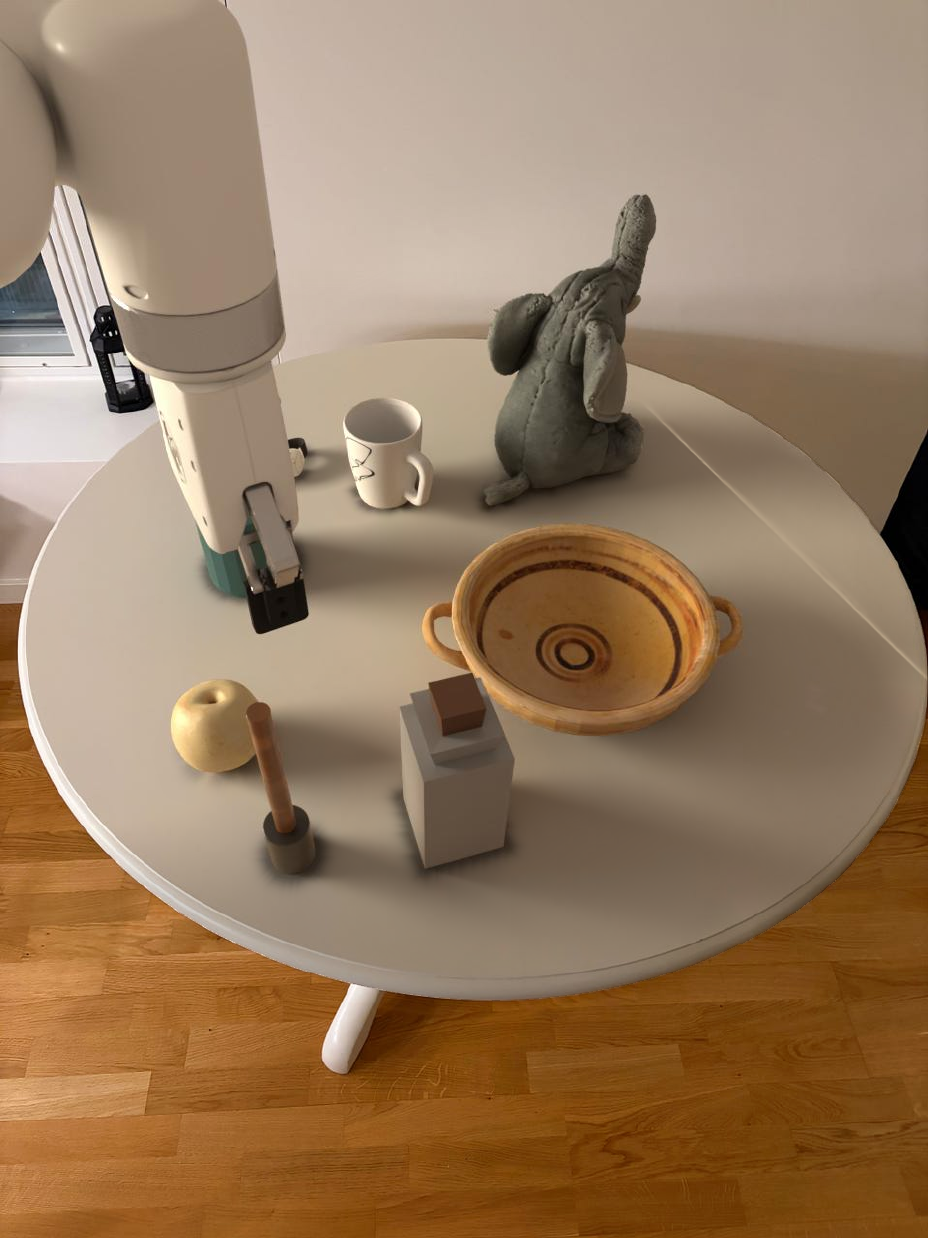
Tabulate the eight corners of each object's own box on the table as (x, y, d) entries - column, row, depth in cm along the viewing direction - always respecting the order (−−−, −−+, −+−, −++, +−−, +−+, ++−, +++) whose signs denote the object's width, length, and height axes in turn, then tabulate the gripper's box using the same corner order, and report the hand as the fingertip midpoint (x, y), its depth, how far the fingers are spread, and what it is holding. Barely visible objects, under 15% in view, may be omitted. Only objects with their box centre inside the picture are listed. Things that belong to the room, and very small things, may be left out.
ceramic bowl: (696, 574, 96) (713, 518, 90) (758, 769, 80) (785, 717, 74) (419, 580, 94) (418, 524, 88) (426, 781, 78) (426, 729, 72)
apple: (203, 805, 76) (150, 739, 72) (202, 755, 83) (154, 693, 79) (285, 758, 76) (237, 691, 73) (277, 713, 83) (232, 649, 80)
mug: (456, 504, 102) (458, 432, 95) (403, 540, 98) (401, 468, 91) (387, 458, 108) (384, 387, 100) (334, 491, 103) (326, 419, 96)
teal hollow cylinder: (223, 609, 91) (205, 537, 83) (199, 552, 96) (180, 480, 89) (308, 582, 94) (297, 510, 86) (280, 528, 99) (268, 456, 92)
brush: (279, 882, 72) (239, 742, 57) (265, 844, 74) (223, 700, 59) (321, 864, 73) (293, 722, 58) (306, 828, 75) (275, 682, 60)
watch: (279, 495, 103) (275, 470, 100) (246, 481, 104) (241, 456, 101) (318, 458, 107) (315, 433, 104) (286, 445, 109) (283, 421, 106)
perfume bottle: (403, 799, 77) (397, 669, 64) (478, 779, 79) (487, 648, 65) (424, 869, 73) (423, 746, 59) (503, 847, 74) (519, 722, 61)
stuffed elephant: (617, 399, 117) (656, 186, 97) (650, 506, 103) (704, 285, 83) (470, 402, 116) (478, 187, 95) (484, 511, 102) (497, 287, 81)
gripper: (79, 245, 46) (156, 501, 59) (170, 435, 36) (238, 694, 49) (223, 218, 48) (267, 470, 61) (346, 389, 38) (367, 647, 51)
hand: (254, 569), depth 55 cm, fingers open, 9 cm apart
